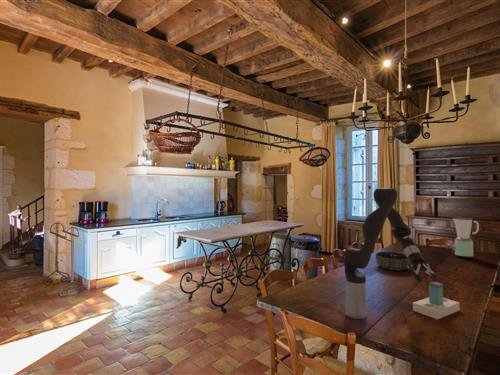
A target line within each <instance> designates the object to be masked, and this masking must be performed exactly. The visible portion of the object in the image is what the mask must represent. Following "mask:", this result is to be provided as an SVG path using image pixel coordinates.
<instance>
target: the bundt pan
mask: <svg viewBox="0 0 500 375" xmlns="http://www.w3.org/2000/svg"><path fill="white" fill-rule="evenodd" d="M374 256H375V259H376V263H377V265H378V266H379V267H380V268H382V269H385V270H390V271H393V270H394V271H401V272H402V271H406V270H408V269H407V265H408V264H410V262H409V260H408V258H407V256H406V254H405V252H396V251H377V252H375V253H374Z"/></svg>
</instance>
